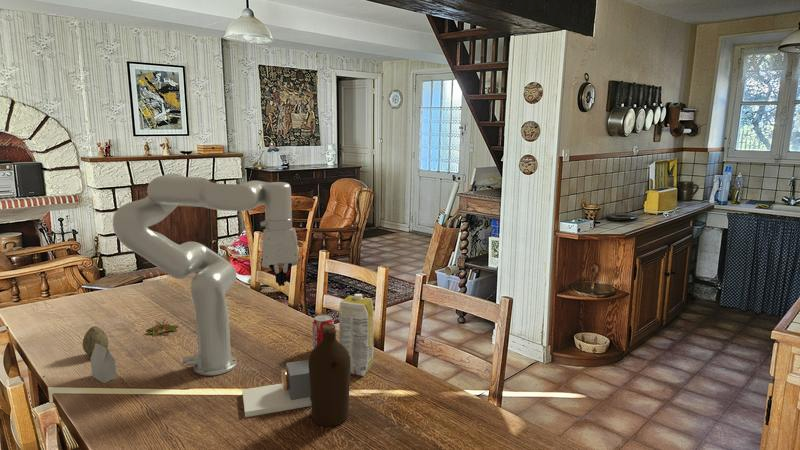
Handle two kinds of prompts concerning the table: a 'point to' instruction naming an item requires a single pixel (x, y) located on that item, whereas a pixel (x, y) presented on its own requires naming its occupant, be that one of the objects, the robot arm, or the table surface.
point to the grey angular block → (103, 364)
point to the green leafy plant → (160, 327)
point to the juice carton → (357, 332)
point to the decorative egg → (94, 339)
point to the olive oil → (329, 380)
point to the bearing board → (280, 393)
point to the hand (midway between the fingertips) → (281, 284)
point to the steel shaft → (285, 380)
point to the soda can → (320, 327)
